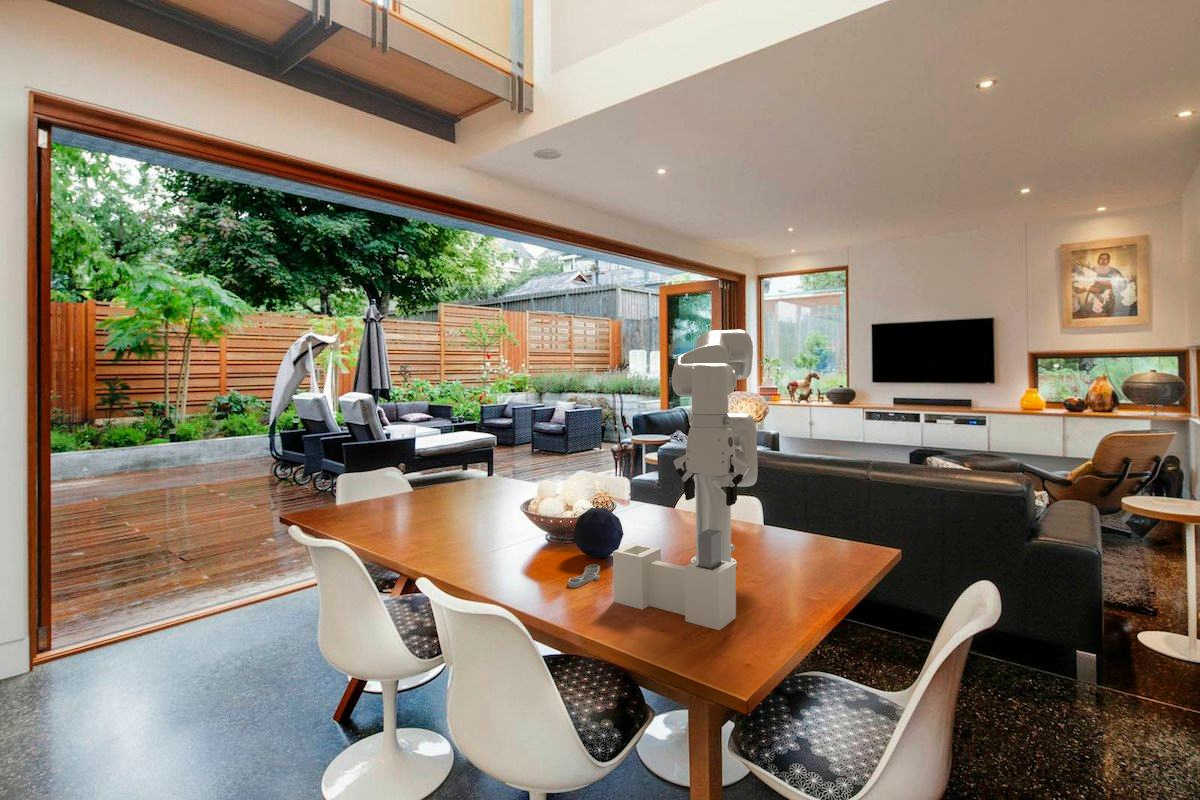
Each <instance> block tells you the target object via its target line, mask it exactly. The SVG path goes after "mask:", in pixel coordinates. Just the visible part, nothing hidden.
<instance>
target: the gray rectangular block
mask: <svg viewBox="0 0 1200 800" xmlns="http://www.w3.org/2000/svg"><path fill="white" fill-rule="evenodd" d="M698 556H699V568H704V569H709V570H714V569H716V568H718V567H719V566H721V531H719V530H712V529H707V530H705V531H703V532H701V533H700V534H698Z"/></svg>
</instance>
